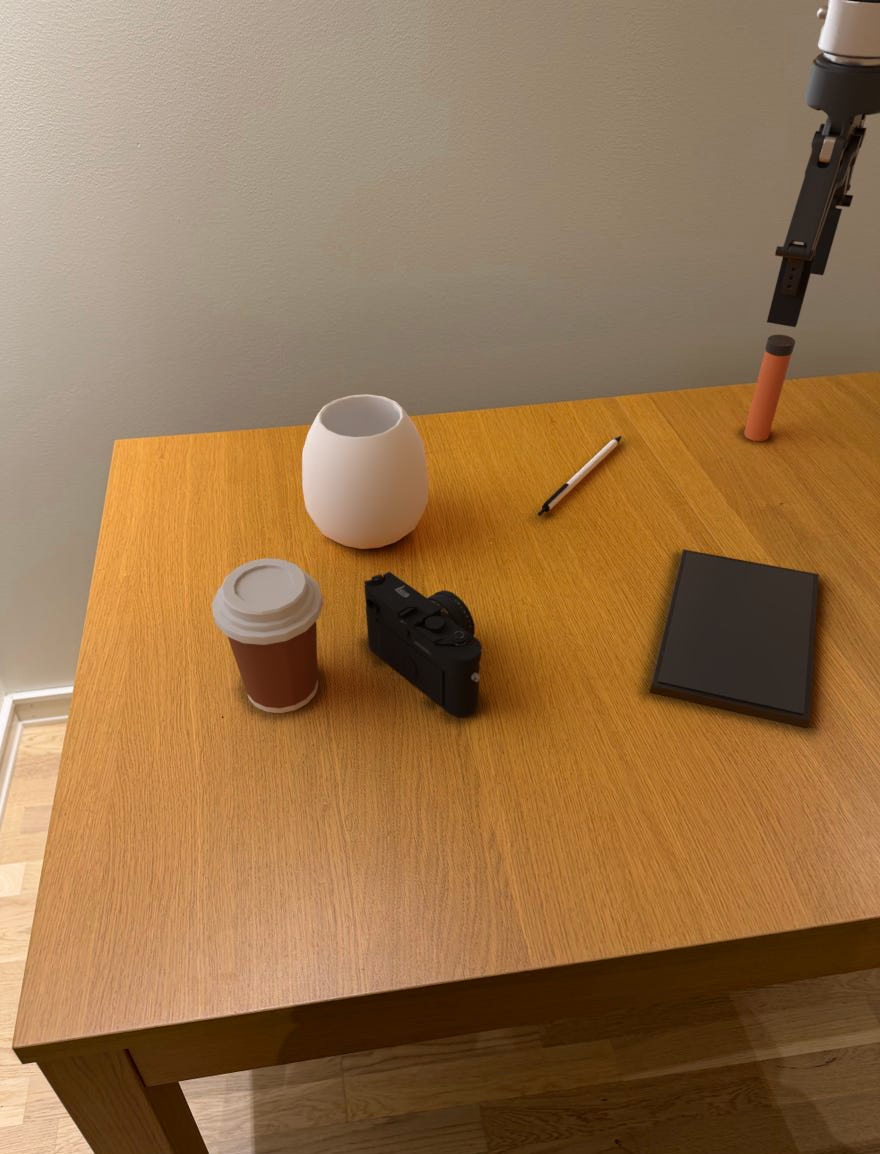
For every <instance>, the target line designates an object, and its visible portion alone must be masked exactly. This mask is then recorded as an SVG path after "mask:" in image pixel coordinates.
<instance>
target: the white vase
mask: <svg viewBox="0 0 880 1154" xmlns="http://www.w3.org/2000/svg"><path fill="white" fill-rule="evenodd" d="M301 459H302V460H301V479H302V480H301V481H302V486H301V488H302V493H303V500H304V505H305V506H304V507H305V510H306V512H307V513H308V515H309V516H310V518H311V521H313V523H314V525H315V526H316V527H317V528H318V530H319V532H320V533H321V534H322V535H323V536H324V537H327V538H329V539H330V540H332V541H334V542H336V543H338V544H340V545H342V546H345V547H349V548H354V549H360V550H367V549H380V548H382V547H385V546H388V545H392V544H394V543H397V542H398V541H400V540H401V539H403V538H404V537H405V536H406V535H408V534H409V533H411V532H413V531H414V530H415V529H416V527H417V526H418V524H419V522H420V520H421V518H422V516H423V514H424V511H425V509H426V507H427V504H428V502H429V482H430V481H429V480H430V479H429V472H428V464H427V456H426V451H425V445H424V441H423V439H422V437H421V434H420V433H419V430H418V427H417V426H416V424H415V423H414V422H413V420H412V418H411V417H410V416H409V414H408V413H407V412H406V410H405V409H404V408H403V407H402V405H400V404H399V403H398V402H397V401H396V400H393V399H390V398H389V397H385V396H382V395H376V394H370V393H369V394H368V393H366V394H365V393H364V394H352V395H351V394H350V395H348V396H347V395H346V396H344V397H340V398H337V399H334V400H332V401H330V402H329V403H327V404H325V405H323V407H322V408H321V409H320V410H319V412H318V413H317V414H316V417H315V418H314V420H313V422H312V424H311V426H310V427H309V429H308V432H307V435H306V437H305V442H304V445H303V448H302V455H301Z"/></svg>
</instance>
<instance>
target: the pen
mask: <svg viewBox="0 0 880 1154" xmlns="http://www.w3.org/2000/svg"><path fill="white" fill-rule="evenodd" d="M622 437H623V435H620V436H617V437H615V438H613V439H612V440H610V441H609V442H608V443H607V444H606V445H605V446H604V447H602V449H601V450H599V452H597V454H595V456H593V457H592V458H591V459H590V460H589V461H588V462H587V463H586V464H585V465H584V466H583V467H582V468H581V469H579V470H578V471H577V472H576V473H575V474H574V475H573V476H572V477H571V478H570V479H569V480H567V482H565V483H563V485H562V486H561V487H559V488H558V489H557V490H556V491H555V492H554V493H552V495H551V496H550V497H549V498H548V499H547V500H546V501H544V503H543V504H542V506H541V510H539V512H537V515H538V516H539V517H541V516H542V515H543V514H544V513H548V512H549V511H551V510H552V509H553V508H554V507H555V506H556V505H557V504H558V503H559V502H560V501H561V500H562V499H563V498H564V497H565V496H566V495H567V494H568V493H569V492H570V491H571V490H573V488H575V487H576V486H577V484H578V483H580V482H581V481H582V480H583V479H584V478H585V477H586V476H587V475H588V474H589V473H590V472H591V471H592V470H593V469H594V468H595V467H596V466H597V465H598V464H599V463H601V461H603V460H604V459H605V458H606V457H607V456H608V455H609V454H610V453H611V452H612V451H613V450H614V449H615V448H616V447H618V445H619V443H620V441H621V439H622Z"/></svg>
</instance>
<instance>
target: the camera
mask: <svg viewBox="0 0 880 1154" xmlns="http://www.w3.org/2000/svg"><path fill="white" fill-rule="evenodd" d="M363 583H364V599H365V616H366V628H367V641H368V648H369V650H370V651H371V652H372V653H373V654H374V655H376V656H377V658H379V659H380V660H382V661H383V662H384V663H386V664H387V665H388V666H389V667H391V668H392V669H393V670H394V671H395V672H397V673H398V674H399V675H401V677H403V678H404V679H405V680H407V681H408V682H409V683H410V684H412V685H413V686H414V687H415V688H417V689H418V690H419V691H420V692H421V693H423V694H425V696H427V697H428V698H429V699H430V700H432V701H433V702H434V703H436V704H437V706H439V707H441V708H442V709H443V710H444V711H446V712H447V713H448V714H449V715H451V716H454V717H457V718H464V717H469V716H470V715H472V714H473V713H475V712H476V710H477V708H478V705H479V692H480V691H479V689H480V681H481V676H480V668H481V667H480V661H481V660H482V649H483V648H482V643H481V642H480V640H479V639H478V638H477V637H475V634H476V628H475V625H476V624H475V621H474V619H473V615H472V613H471V610H470V609H469V608H468V606H467V605H466V603H465V602H464V601H463V600H462V599H461V597H459V596H458V595H457V594H455V593H454V592H452V591H450V590H444V589H442V590H440V591H436V592H435V593H433V594H432V595H430V596H428V597H426V596H425V595H423V594H422V593H421V592H419V591H418V590H416V589H415V588H414V587H412V586H411V585H409V584H408V583H407V582H406V581H404V580H403V579H400V577H398V576H396V575H395V574H394V573H392V572H391V571H387V572H386V573H383V574H381V573H380V574H379V573H378V574H376V575H372V576H371V577H370V579H366V580H364V581H363Z"/></svg>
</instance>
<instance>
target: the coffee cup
mask: <svg viewBox="0 0 880 1154" xmlns="http://www.w3.org/2000/svg"><path fill="white" fill-rule="evenodd" d="M323 606H324V598H323V595H322V591H321V588H320V584H319V583H318V582H317V581H316V580H315V579H314V578H313V577H312V576H310V574H308V573H307V572H305V571H304V570H302V568H300V566H299V565H297V563H293V562H290V561H288V560H285V559H283V558H269V557H266V558H265V557H264V558H260V559H255V560H250V561H248V562H245V563H243V564H241V565H239V566H237V567H236V568H234V569H233V570H232V571H231V572H229V574H228V575H226V577H225V578H224V580H223V583H222V585H221V586H220V587H219V588H218V589H217V591H216V594H215V595H214V598H213V600H212V602H211V609H212V616H213V621H214V625H215V626H216V627H217V628H218V629H219V630H220V631H221V633H223V635H224V636H225V637H227V639H228V642H229V645H230V647H231V651H232V653H233V657H234V659H235V662H236V666H237V668H238V671H239V674H240V677H241V680H242V683H243V685H244V688H245V690H246V695H247V699H248V701H250V702H251V703H252V705H253V706H254V707H255V708H257V709H259V710H261V711H264V712H266V713H275V714H283V713H284V714H285V713H290V712H294V711H297V710H298V709H300V708H302V707H304V706H305V705H307V704H309V702H310V701H311V700H312V699H313V698H314V697H315V696H316V693H317V690H318V687H319V680H318V675H319V674H318V644H317V643H318V640H317V636H318V635H317V621H318V620H319V618H320V616H321V613H322V609H323Z"/></svg>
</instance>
